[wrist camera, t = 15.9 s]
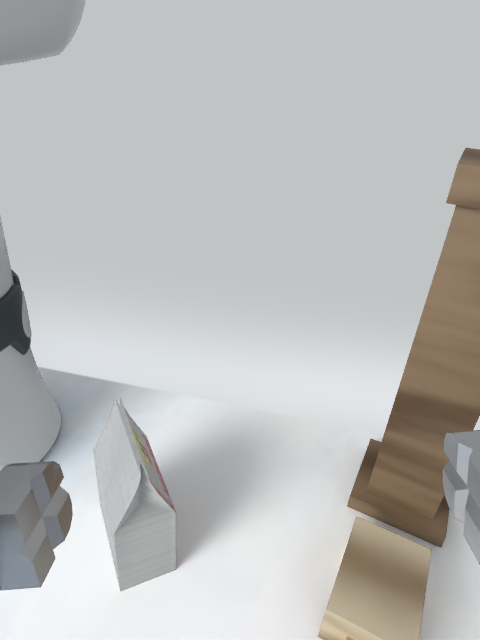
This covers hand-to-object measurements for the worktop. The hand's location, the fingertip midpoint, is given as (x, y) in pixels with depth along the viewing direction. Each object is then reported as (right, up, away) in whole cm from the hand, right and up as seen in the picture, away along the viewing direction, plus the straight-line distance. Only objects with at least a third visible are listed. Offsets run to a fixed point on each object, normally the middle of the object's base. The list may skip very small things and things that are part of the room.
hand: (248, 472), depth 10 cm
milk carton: (-8, -12, +23) cm, 27 cm away
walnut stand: (+13, -11, +28) cm, 32 cm away
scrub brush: (+7, -17, +17) cm, 25 cm away
